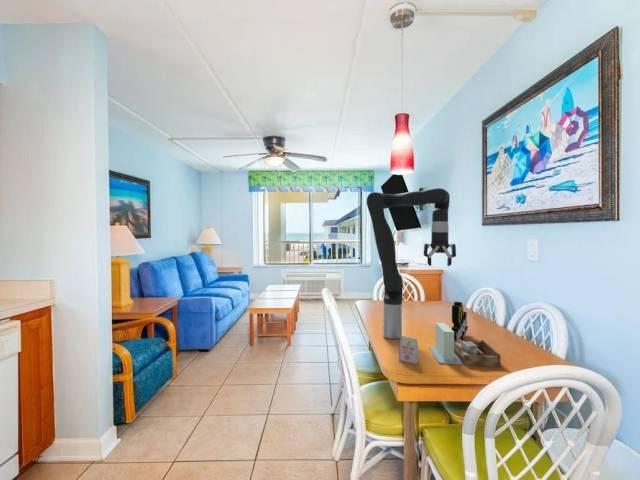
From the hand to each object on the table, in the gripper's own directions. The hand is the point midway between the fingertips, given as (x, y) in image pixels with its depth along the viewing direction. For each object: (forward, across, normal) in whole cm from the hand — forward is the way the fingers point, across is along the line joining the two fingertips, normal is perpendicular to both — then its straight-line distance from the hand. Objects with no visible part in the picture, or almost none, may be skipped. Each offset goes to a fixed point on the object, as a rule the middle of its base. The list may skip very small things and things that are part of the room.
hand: (439, 265), depth 154 cm
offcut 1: (+38, +9, -9) cm, 40 cm away
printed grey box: (+38, -17, -21) cm, 47 cm away
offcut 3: (+38, +8, -17) cm, 43 cm away
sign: (+38, +13, +12) cm, 42 cm away
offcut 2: (+34, +8, -17) cm, 39 cm away
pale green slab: (+37, 0, -13) cm, 40 cm away
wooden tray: (+38, +12, -13) cm, 42 cm away
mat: (+38, 0, -13) cm, 40 cm away
